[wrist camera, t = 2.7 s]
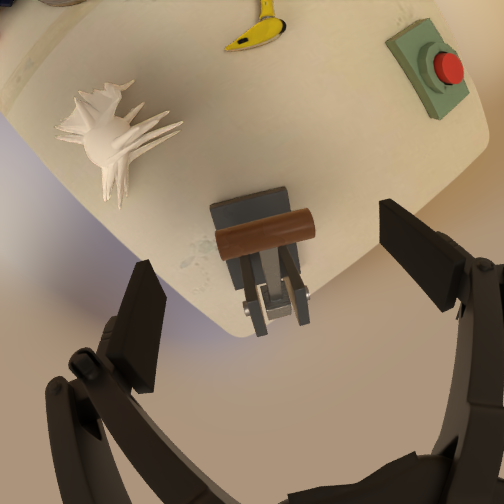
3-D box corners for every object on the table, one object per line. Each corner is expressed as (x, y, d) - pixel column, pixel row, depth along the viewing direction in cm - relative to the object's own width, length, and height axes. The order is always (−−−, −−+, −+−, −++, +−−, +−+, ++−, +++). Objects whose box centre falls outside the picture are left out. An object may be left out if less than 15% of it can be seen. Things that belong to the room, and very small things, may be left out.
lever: (212, 220, 17) (218, 255, 15) (304, 197, 17) (318, 230, 15) (246, 301, 28) (251, 324, 27) (301, 287, 28) (308, 309, 27)
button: (428, 60, 23) (437, 60, 22) (444, 48, 22) (453, 48, 21) (443, 88, 25) (452, 89, 23) (458, 75, 24) (467, 76, 22)
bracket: (209, 205, 33) (208, 271, 22) (284, 186, 33) (324, 242, 22) (234, 285, 40) (245, 365, 28) (298, 268, 40) (331, 342, 28)
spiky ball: (153, 62, 25) (130, 43, 17) (207, 148, 30) (200, 155, 22) (76, 122, 27) (36, 124, 19) (126, 202, 31) (99, 226, 24)
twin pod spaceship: (290, 49, 24) (285, 43, 22) (232, 53, 26) (221, 49, 23) (284, -26, 19) (278, -38, 16) (227, -19, 21) (216, -29, 18)
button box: (384, 42, 25) (402, 39, 21) (419, 19, 23) (438, 16, 19) (430, 117, 30) (449, 122, 27) (459, 91, 28) (478, 94, 25)
